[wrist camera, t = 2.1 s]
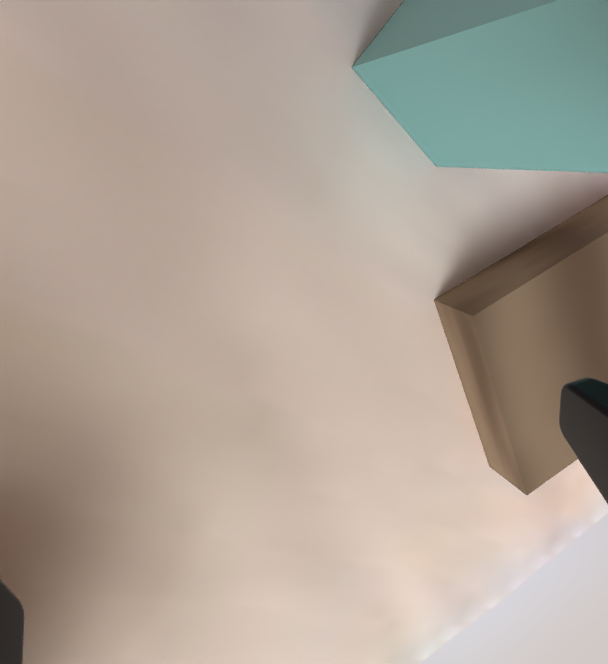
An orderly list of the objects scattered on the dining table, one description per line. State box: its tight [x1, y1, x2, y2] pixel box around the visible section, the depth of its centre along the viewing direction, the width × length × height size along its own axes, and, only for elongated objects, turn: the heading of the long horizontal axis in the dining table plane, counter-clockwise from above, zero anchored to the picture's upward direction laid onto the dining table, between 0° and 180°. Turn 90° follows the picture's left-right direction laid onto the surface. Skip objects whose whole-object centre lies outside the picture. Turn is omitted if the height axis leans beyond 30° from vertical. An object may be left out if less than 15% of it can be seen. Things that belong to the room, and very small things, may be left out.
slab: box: [434, 195, 608, 495], centre depth 25 cm, size 10×10×3 cm
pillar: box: [352, 0, 608, 173], centre depth 14 cm, size 5×5×13 cm
